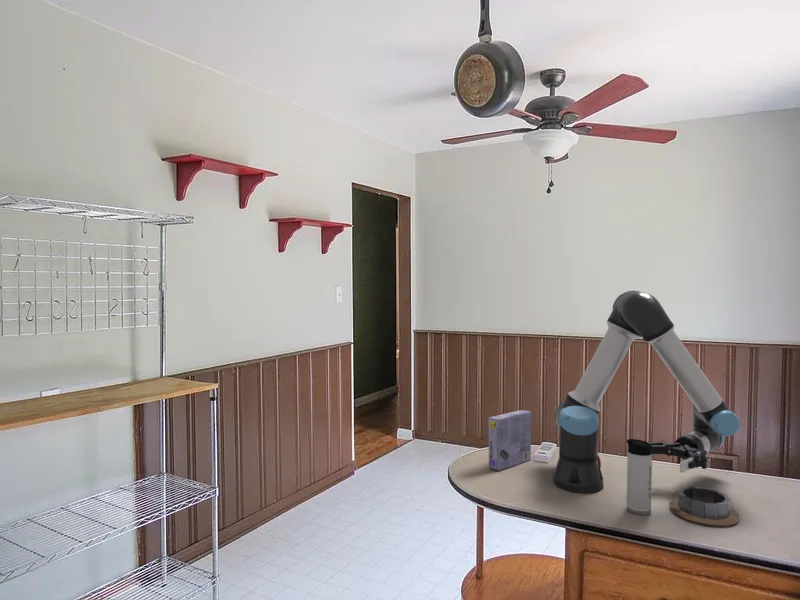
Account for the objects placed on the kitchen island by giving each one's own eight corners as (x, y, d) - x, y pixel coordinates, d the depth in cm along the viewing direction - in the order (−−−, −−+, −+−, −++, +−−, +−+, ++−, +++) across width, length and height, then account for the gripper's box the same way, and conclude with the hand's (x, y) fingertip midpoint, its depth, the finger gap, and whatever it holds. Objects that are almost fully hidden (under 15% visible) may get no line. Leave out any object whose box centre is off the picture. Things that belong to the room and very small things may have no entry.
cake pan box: (522, 455, 202) (522, 407, 201) (533, 459, 198) (534, 410, 197) (487, 468, 190) (487, 417, 189) (498, 472, 186) (498, 420, 185)
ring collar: (655, 504, 159) (656, 487, 159) (702, 497, 165) (702, 480, 164) (704, 531, 143) (705, 512, 143) (754, 521, 148) (755, 503, 148)
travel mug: (622, 505, 159) (623, 437, 158) (645, 506, 159) (646, 437, 158) (630, 515, 153) (631, 443, 152) (654, 515, 153) (656, 444, 151)
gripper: (734, 468, 164) (702, 486, 151) (652, 448, 184) (617, 462, 171) (735, 443, 164) (702, 459, 151) (653, 426, 184) (617, 438, 171)
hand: (657, 461), depth 161 cm, fingers open, 13 cm apart
